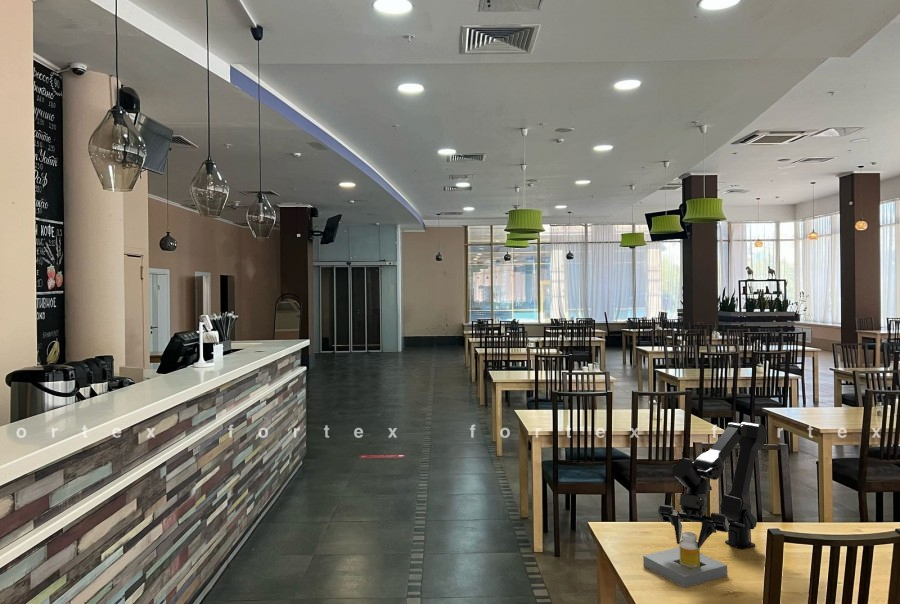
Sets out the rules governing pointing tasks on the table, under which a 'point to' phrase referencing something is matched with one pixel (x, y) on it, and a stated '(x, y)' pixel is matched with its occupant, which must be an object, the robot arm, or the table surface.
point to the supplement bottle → (689, 551)
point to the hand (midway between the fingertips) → (688, 545)
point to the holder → (684, 568)
